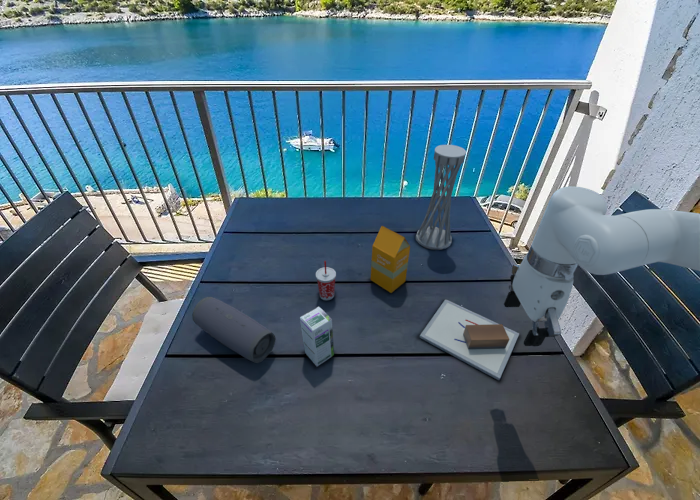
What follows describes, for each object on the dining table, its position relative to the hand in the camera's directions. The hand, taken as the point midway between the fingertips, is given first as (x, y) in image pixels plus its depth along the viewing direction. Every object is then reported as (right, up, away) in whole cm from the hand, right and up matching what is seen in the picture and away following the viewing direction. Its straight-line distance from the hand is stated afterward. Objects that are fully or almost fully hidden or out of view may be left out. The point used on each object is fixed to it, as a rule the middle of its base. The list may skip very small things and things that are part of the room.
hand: (521, 324), depth 69 cm
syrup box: (-42, -13, +23) cm, 50 cm away
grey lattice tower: (-2, +19, +63) cm, 66 cm away
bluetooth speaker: (-65, -10, +26) cm, 71 cm away
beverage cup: (-41, +1, +40) cm, 58 cm away
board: (-1, -9, +27) cm, 29 cm away
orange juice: (-22, +5, +45) cm, 50 cm away
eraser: (+2, -10, +25) cm, 27 cm away
